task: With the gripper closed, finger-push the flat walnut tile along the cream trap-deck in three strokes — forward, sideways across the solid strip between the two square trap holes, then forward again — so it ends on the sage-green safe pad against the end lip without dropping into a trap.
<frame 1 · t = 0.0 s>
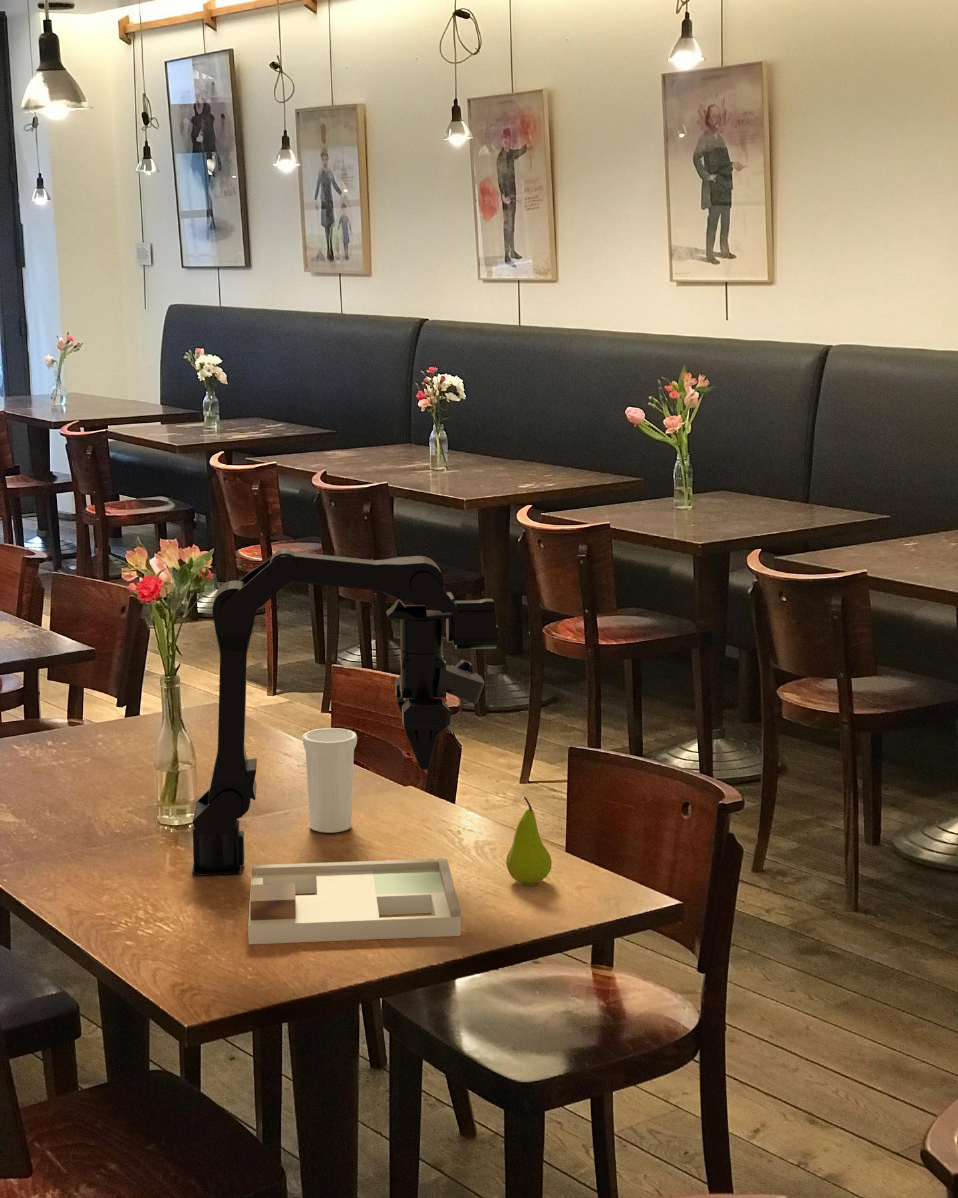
hand: (421, 759, 221), 15 cm above the table, fingers open, 9 cm apart
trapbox: (352, 912, 205), on the table
cup: (330, 829, 237), on the table
walnut block: (273, 911, 199), point 2 cm above the table, touching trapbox
fruit: (528, 884, 216), on the table
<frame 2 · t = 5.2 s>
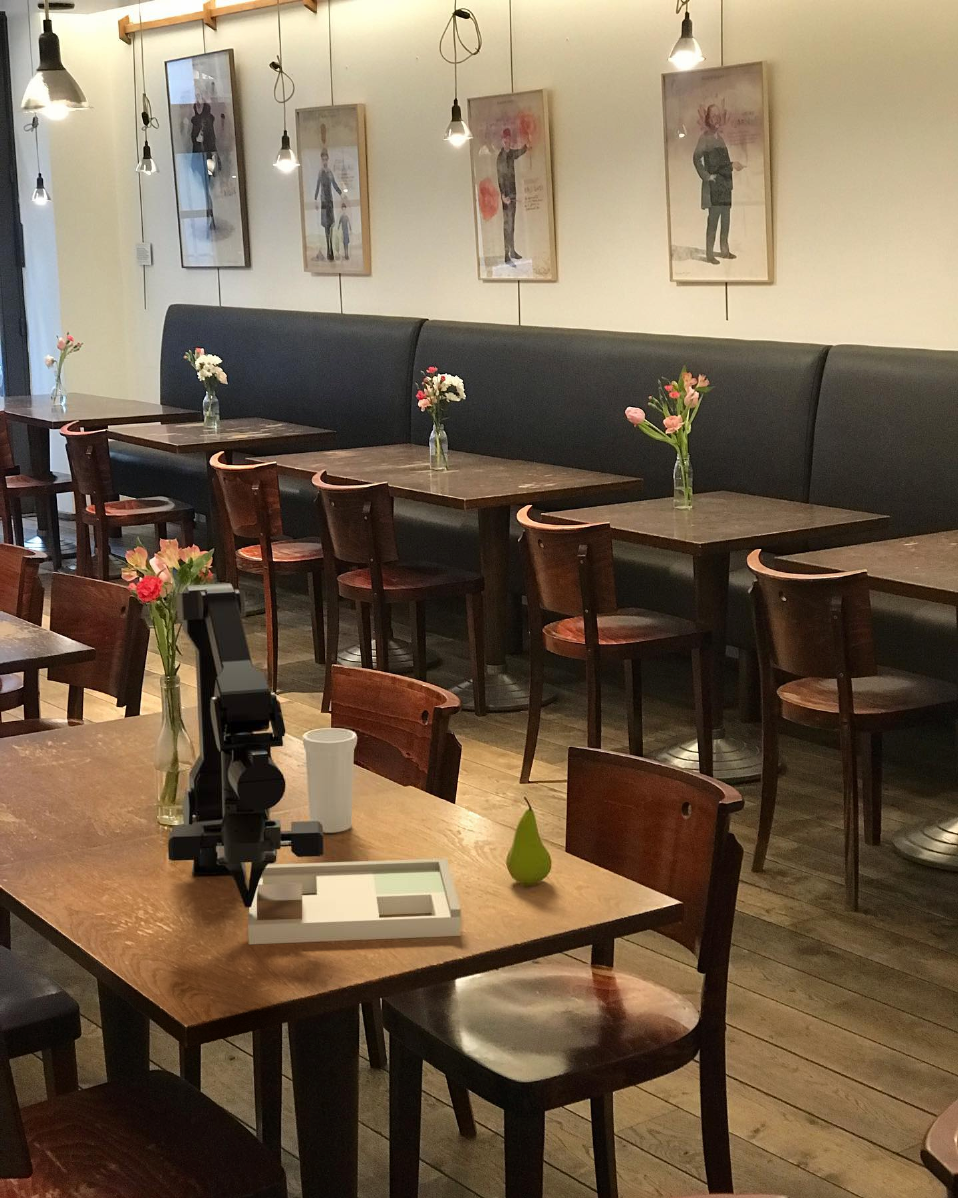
hand: (248, 906, 199), 3 cm above the table, fingers closed
walnut block: (280, 911, 199), point 2 cm above the table, touching gripper, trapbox
everything else where it was.
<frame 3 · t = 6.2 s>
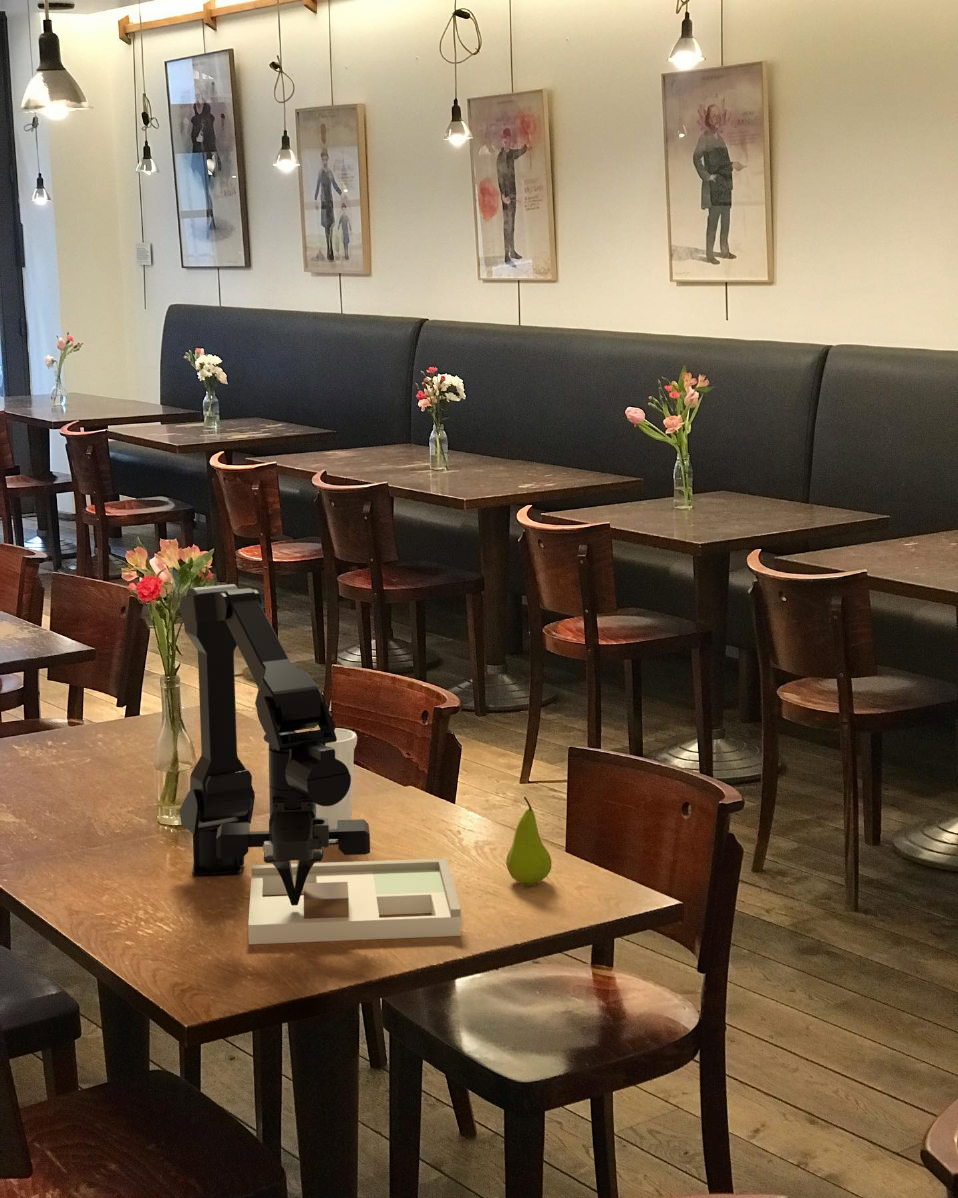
hand: (294, 904, 199), 3 cm above the table, fingers closed
walnut block: (326, 909, 200), point 3 cm above the table, touching gripper, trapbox
everything else where it was.
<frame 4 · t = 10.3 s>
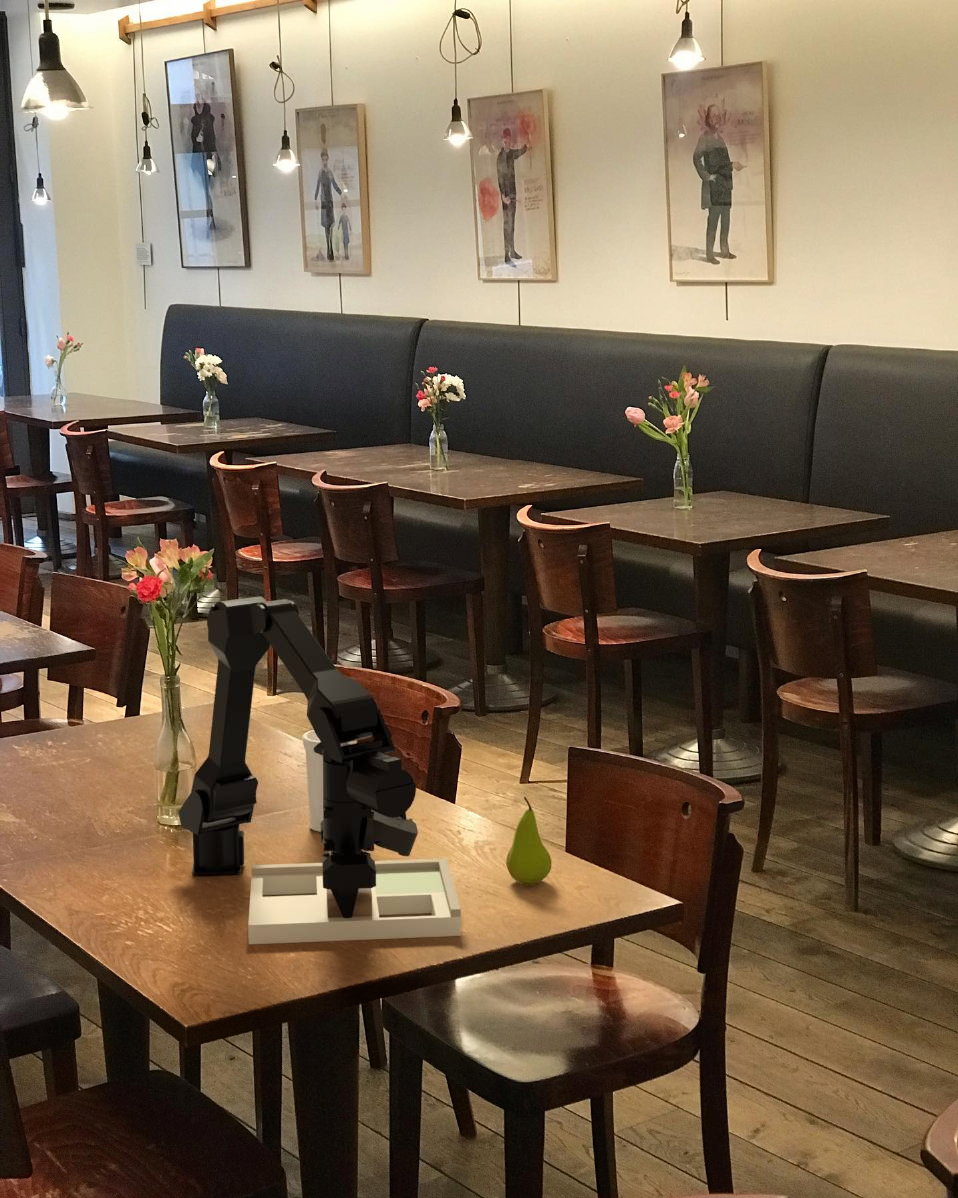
hand: (347, 917, 196), 3 cm above the table, fingers closed
walnut block: (349, 908, 200), point 3 cm above the table, touching gripper, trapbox
everything else where it was.
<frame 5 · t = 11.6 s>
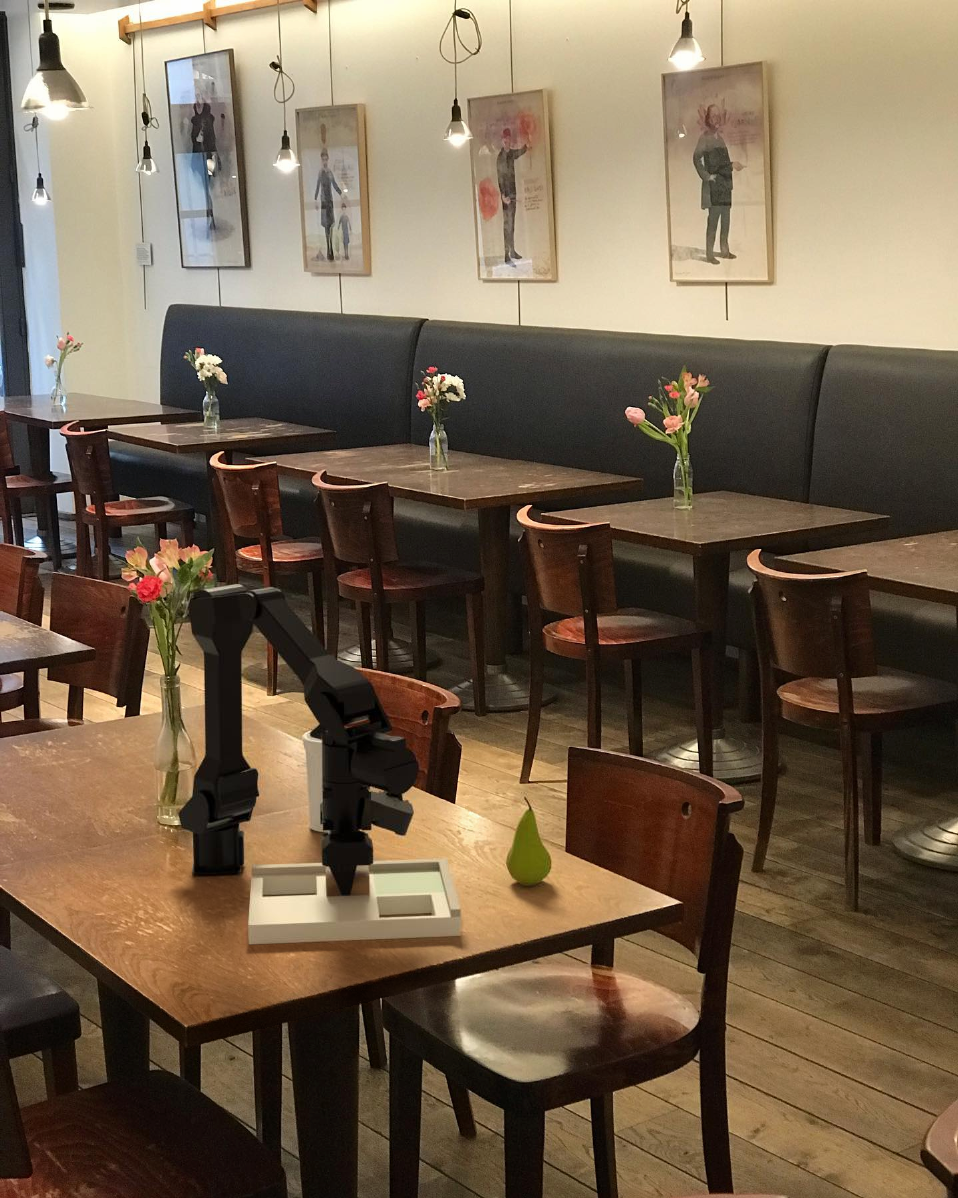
hand: (346, 895, 203), 3 cm above the table, fingers closed
walnut block: (347, 888, 207), point 2 cm above the table, touching gripper, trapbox
everything else where it was.
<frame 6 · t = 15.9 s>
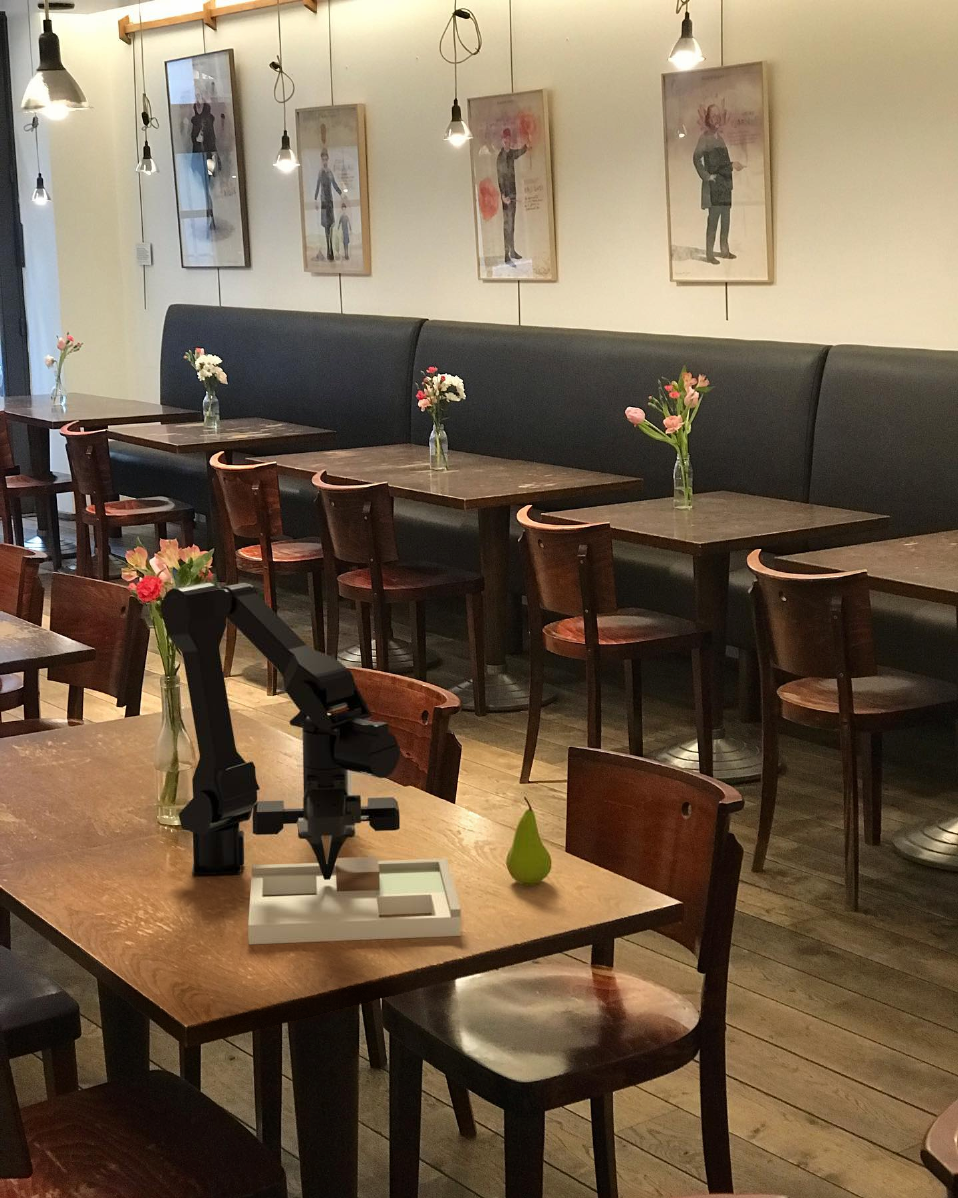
hand: (327, 878, 208), 3 cm above the table, fingers closed
walnut block: (357, 883, 209), point 3 cm above the table, touching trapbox
everything else where it was.
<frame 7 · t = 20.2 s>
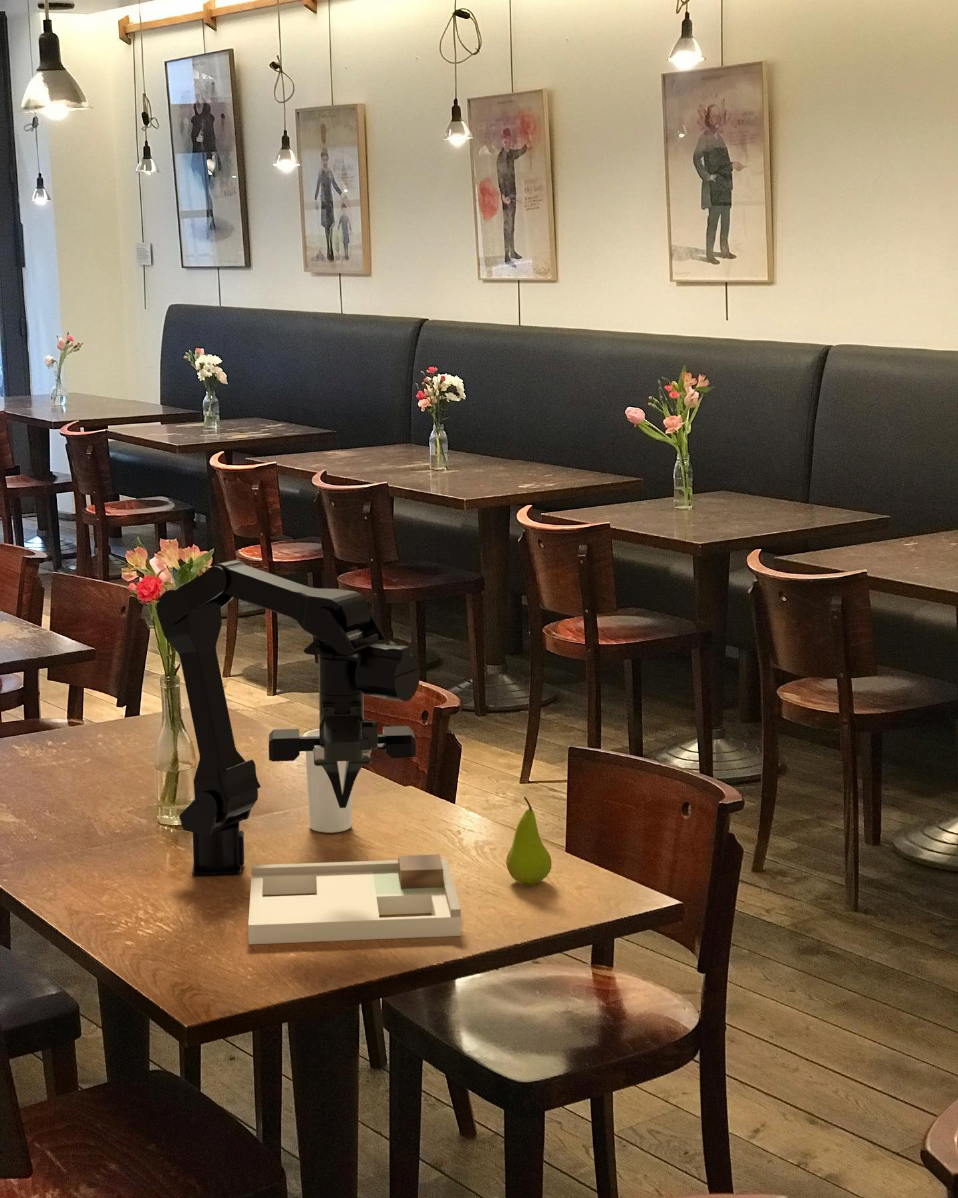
hand: (342, 807, 208), 12 cm above the table, fingers closed
walnut block: (420, 880, 210), point 2 cm above the table, touching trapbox
everything else where it was.
at the end: walnut block 0.5 cm from the target spot on the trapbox, point 2.5 cm above the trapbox's base; walnut block tilted 0° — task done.
